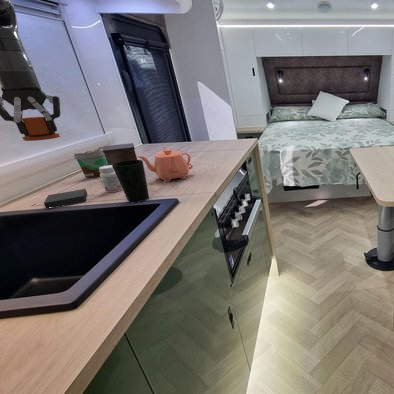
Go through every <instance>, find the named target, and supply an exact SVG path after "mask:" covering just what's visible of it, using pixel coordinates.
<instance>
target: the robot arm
mask: <svg viewBox="0 0 394 394" xmlns="http://www.w3.org/2000/svg"><path fill="white" fill-rule="evenodd" d="M17 18H18V17H17V13H16V9H15V5H14V3H13V2H12V0H0V90H1V96H0V117H1V118H2V119H3V121H6V122H13V123H15V124H16V127H17V129H18V131H19V133H20V134H21V135H23V136H29V134H28V131H27V129H26V127H25V124H24V122H23V120H22V118H24V117H23V116H24V111H27V110H33V111H35V110H37V111H38V112H39V114H41V116H42V117H45V118H46V120H47V121H46V122H47V125H48V127H49V130H50V132H51V134H55V133H56V132H57V131H58V127H57V124H56V122H55V119H58V118H60V117H61V98H60V96H58V95H49V94H46V93H45V92H44V91H43V90H42V88H41V85H40V82H39V79H38V77H37V74H36V71H35V70H34V66H33V65H32V61H31V59H30V58H29V56H28V54H27V53H26V49H25V47H24V44H23V42H22V39H21V37H20V36H19V35H20V34H19V25H18V20H17ZM46 100H48V102H49V103H50V104H52V111H53V112H52V114H51V113H50V112H49V111H48V109H47V108H46V107H45V106H44V104H45V102H46ZM5 102H6V103H8V104H10V105H11V106H12V107H13V115H11V114H10V113H9V112H8V111H7V109H6V108H5V107H4V105H5Z"/></svg>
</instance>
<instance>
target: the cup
mask: <svg viewBox="0 0 394 394" xmlns="http://www.w3.org/2000/svg"><path fill="white" fill-rule="evenodd" d="M144 165H145V164H144V161H143V160H142V159H137V160H127V161H121V162H117V163H114V164H113V165H112V167H113V169H114V171H115V173H116V176H117V178H118V180H119V182H120V184H121V186H122V191H123V193H124V196H125V198H126V200H127V202H128V203H130V202H136V203H139V202H138V201H141V202H145V201H147V200H148V199H150V195H149V188H148V184H147V177H146V171H145V166H144Z"/></svg>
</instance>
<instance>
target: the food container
mask: <svg viewBox="0 0 394 394" xmlns="http://www.w3.org/2000/svg"><path fill="white" fill-rule="evenodd" d="M73 154H74V155H73V156H74V160H76V161H77V163H78V165H79V167H80V169H81V171H82V173H83V175H84V177H85V178H86V179H93V178H99V177H100V174H101V172H100V170H99V168H100V167H102V166H108V163H107V160H106V157H105V154H104V153H103V146H98V149H95V150H88V151H85V152H79V153H73ZM100 178H101V177H100Z"/></svg>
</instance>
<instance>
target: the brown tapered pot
mask: <svg viewBox="0 0 394 394" xmlns="http://www.w3.org/2000/svg"><path fill="white" fill-rule="evenodd" d="M102 147H103V153H104V154H105V157H106V160H107V163H108V165H113V164H114V163H117V162H121V161H127V160H138V157H137V154H136V149H135V148H136V147H135V145H134V143H133V142H130V143H122V144H121V143H120V144H111V145H103V146H102Z"/></svg>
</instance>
